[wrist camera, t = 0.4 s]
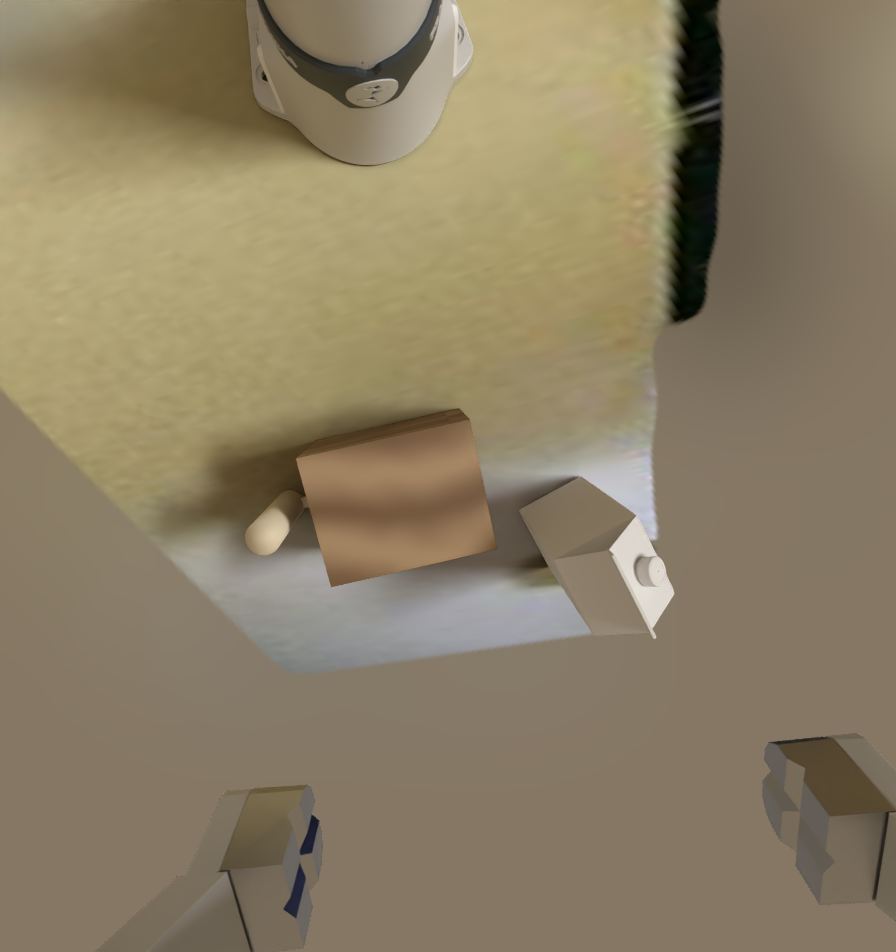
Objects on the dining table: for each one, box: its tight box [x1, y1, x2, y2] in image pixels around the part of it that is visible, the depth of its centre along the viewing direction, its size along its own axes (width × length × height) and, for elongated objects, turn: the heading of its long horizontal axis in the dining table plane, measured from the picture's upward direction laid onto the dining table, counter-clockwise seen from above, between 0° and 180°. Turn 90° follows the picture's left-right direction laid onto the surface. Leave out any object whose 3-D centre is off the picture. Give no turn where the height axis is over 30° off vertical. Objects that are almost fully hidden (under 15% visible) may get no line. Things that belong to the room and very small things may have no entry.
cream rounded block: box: [245, 490, 309, 555], centre depth 52 cm, size 5×16×11 cm, turn 102°
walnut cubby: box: [296, 409, 497, 587], centre depth 52 cm, size 11×14×10 cm
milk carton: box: [519, 477, 674, 639], centre depth 50 cm, size 7×7×19 cm
